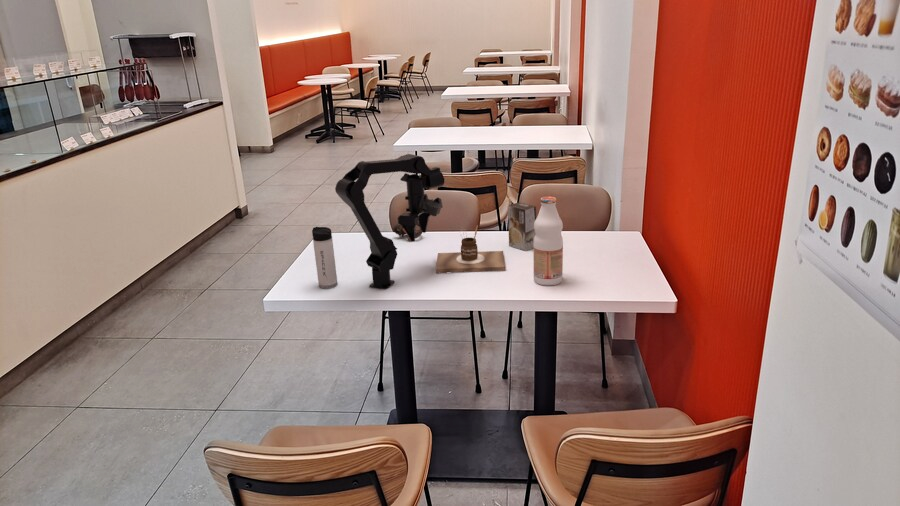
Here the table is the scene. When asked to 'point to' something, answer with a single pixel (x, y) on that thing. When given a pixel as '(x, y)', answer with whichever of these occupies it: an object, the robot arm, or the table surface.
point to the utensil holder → (469, 248)
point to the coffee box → (521, 225)
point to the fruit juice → (548, 244)
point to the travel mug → (324, 257)
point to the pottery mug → (403, 232)
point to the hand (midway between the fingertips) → (418, 236)
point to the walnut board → (470, 262)
